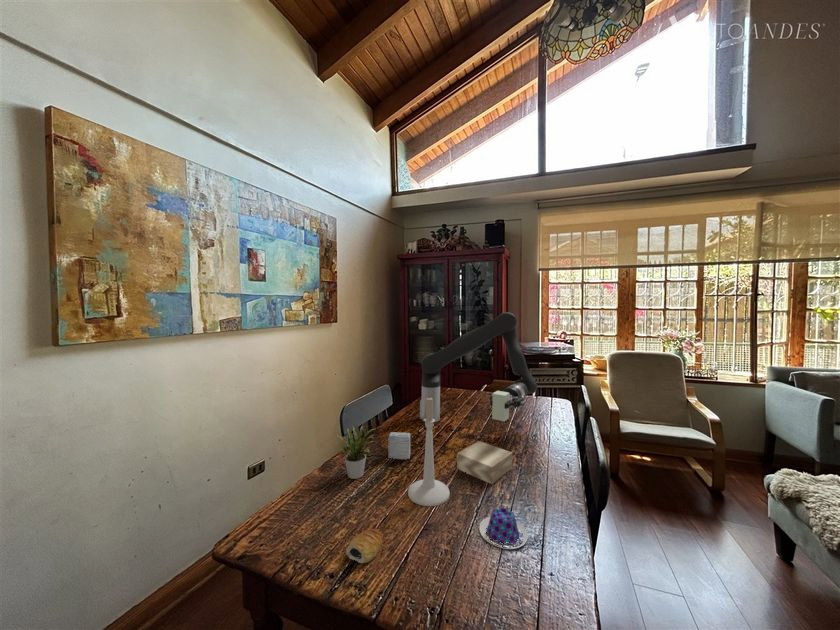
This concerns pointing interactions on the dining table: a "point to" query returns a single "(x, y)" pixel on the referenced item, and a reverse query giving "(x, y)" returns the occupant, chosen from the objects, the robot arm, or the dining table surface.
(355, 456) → the house plant
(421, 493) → the candlestick
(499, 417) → the pale green block
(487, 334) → the robot arm
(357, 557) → the pastry
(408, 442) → the medicine box
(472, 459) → the oak block
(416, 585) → the dining table surface
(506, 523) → the pudding
